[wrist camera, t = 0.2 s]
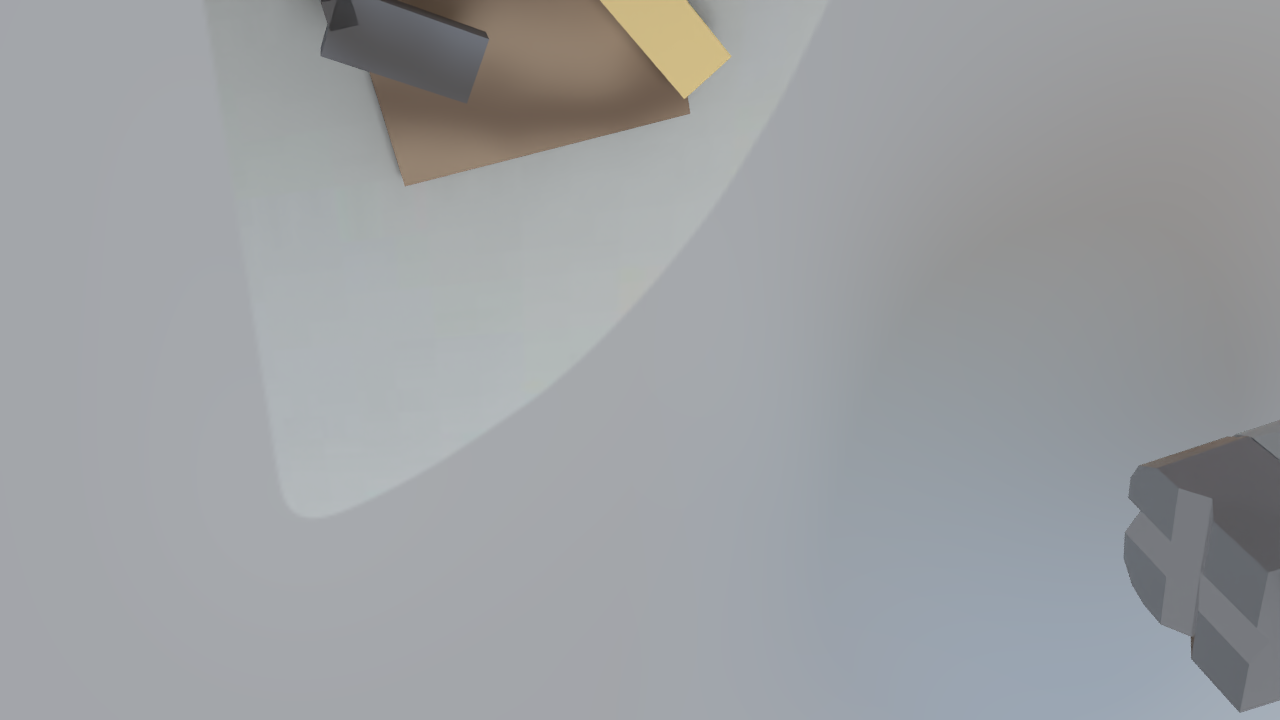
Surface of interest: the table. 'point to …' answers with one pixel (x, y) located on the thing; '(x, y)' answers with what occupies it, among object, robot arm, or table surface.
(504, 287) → the table surface
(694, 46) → the link
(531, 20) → the board
